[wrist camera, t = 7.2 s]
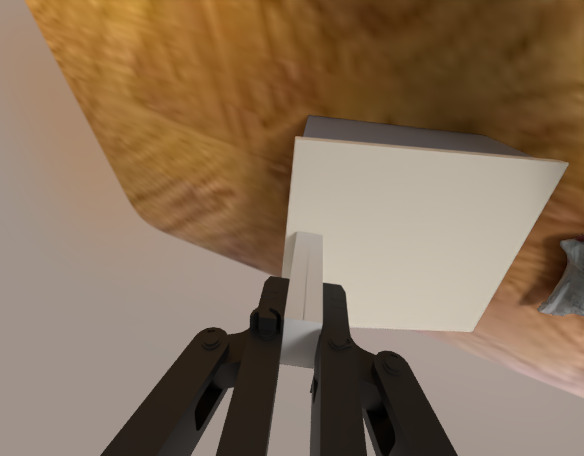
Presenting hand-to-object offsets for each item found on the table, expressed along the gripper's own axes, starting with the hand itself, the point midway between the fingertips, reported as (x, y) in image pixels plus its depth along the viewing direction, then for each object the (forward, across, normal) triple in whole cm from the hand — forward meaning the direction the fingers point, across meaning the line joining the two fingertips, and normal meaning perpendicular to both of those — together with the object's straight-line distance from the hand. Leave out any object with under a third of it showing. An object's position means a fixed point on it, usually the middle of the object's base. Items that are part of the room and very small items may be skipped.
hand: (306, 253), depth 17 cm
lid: (+2, +6, 0) cm, 6 cm away
